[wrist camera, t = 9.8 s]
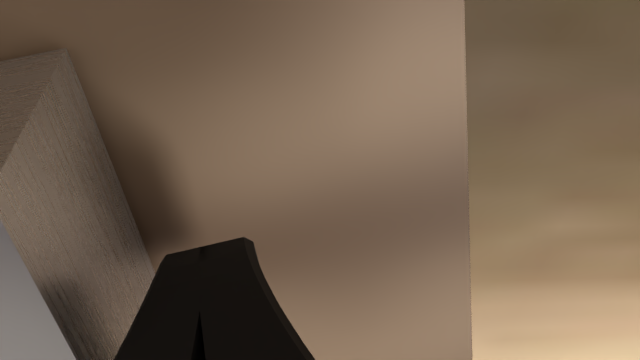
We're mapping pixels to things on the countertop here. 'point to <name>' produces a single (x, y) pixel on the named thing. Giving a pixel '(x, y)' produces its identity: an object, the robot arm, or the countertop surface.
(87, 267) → the grey rectangular block
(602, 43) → the countertop surface
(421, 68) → the flat wooden platform
